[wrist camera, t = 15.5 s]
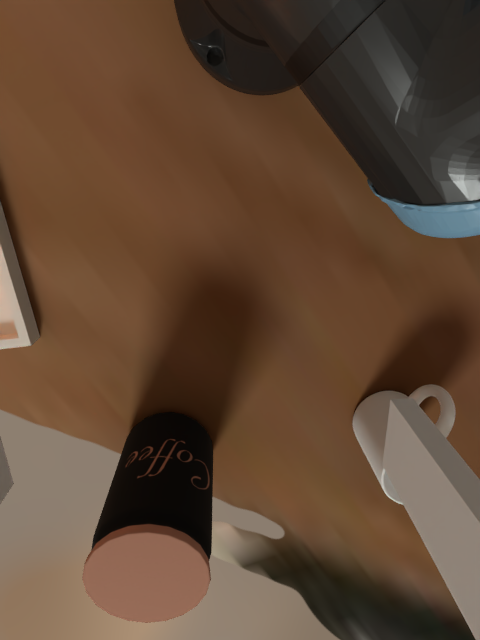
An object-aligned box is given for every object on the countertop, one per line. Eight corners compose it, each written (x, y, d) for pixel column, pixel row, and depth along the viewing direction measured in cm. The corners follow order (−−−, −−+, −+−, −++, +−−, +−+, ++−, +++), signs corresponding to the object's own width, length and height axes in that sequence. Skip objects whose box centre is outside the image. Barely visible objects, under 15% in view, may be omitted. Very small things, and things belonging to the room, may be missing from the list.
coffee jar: (226, 423, 50) (230, 551, 33) (195, 487, 53) (185, 634, 37) (142, 395, 48) (102, 517, 31) (116, 464, 52) (67, 608, 35)
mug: (397, 352, 48) (443, 399, 38) (449, 384, 50) (504, 435, 40) (337, 427, 51) (365, 487, 42) (387, 453, 53) (425, 517, 44)
